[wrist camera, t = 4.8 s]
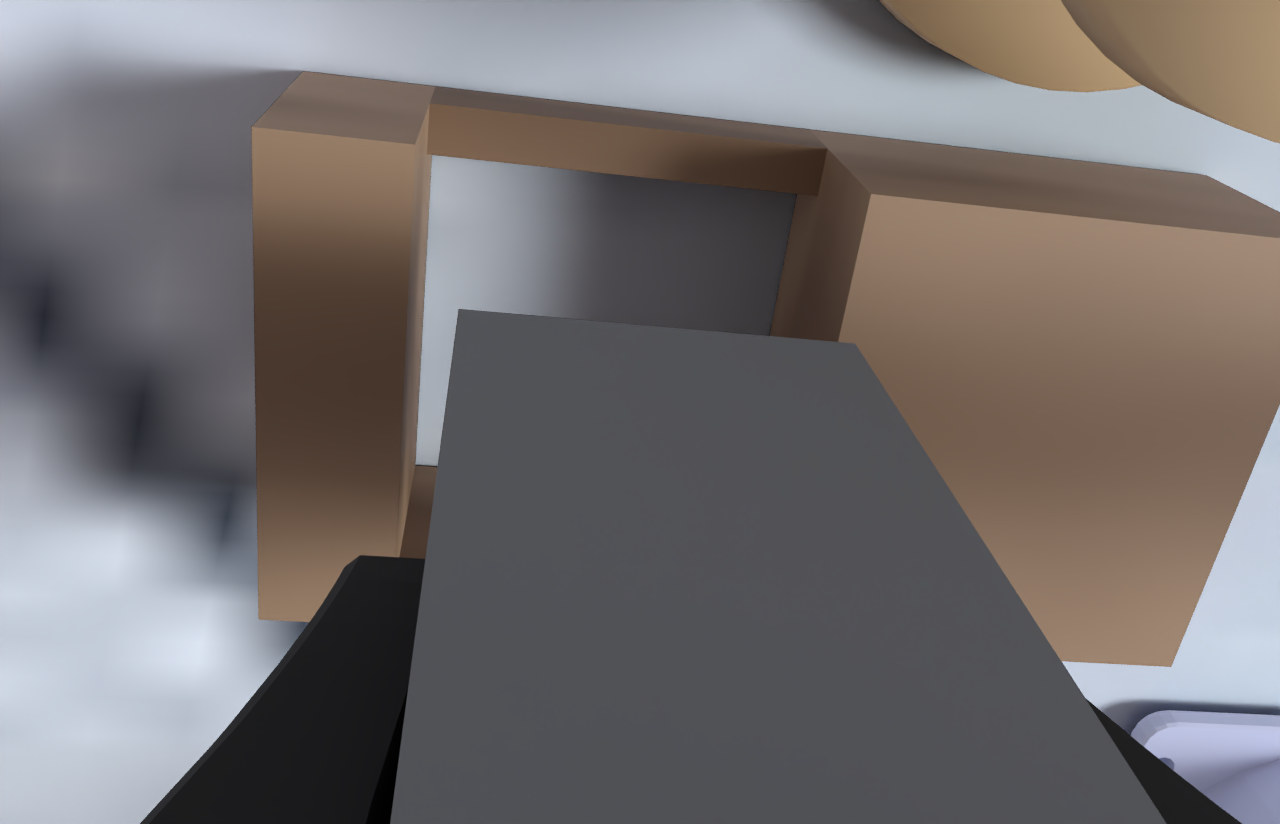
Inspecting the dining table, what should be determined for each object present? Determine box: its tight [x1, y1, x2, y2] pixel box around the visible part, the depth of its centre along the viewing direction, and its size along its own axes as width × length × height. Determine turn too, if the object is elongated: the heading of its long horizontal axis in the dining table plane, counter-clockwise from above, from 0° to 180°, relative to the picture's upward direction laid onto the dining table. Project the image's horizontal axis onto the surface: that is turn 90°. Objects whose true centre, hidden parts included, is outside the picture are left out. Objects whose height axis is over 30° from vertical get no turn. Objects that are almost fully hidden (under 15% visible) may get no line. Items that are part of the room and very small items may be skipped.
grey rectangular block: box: [390, 309, 1166, 824], centre depth 8 cm, size 4×4×7 cm
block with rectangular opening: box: [251, 71, 1280, 667], centre depth 15 cm, size 6×12×3 cm, turn 83°
